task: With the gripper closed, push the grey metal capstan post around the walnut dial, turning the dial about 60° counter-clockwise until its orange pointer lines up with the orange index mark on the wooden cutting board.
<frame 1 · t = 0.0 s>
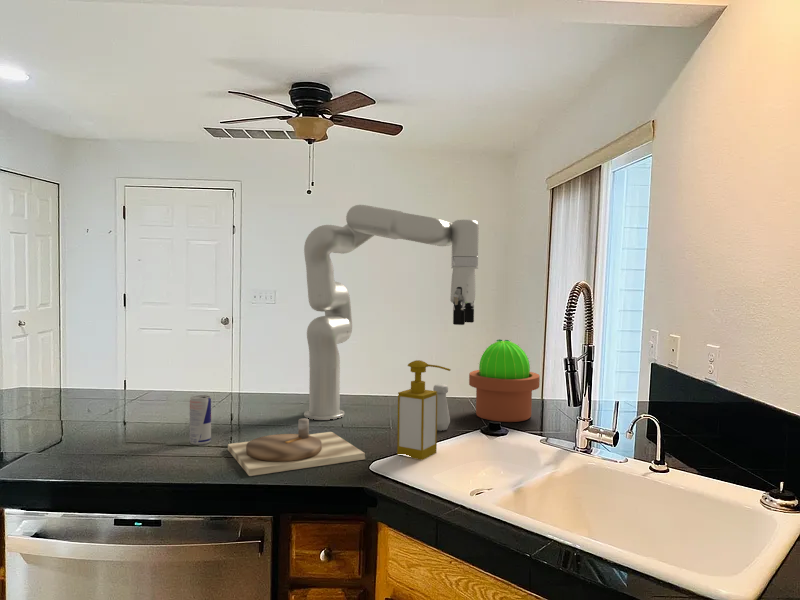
hand: (463, 323, 171), 31 cm above the table, tool pointing down, fingers open, 9 cm apart
soap bottle: (426, 456, 148), on the table
energy drink: (200, 443, 157), on the table
salt shaker: (440, 429, 175), on the table
dial: (284, 437, 145), point 5 cm above the table, hinge at -60.0°
wooden cutting board: (294, 454, 148), on the table
potted cactus: (503, 416, 192), on the table
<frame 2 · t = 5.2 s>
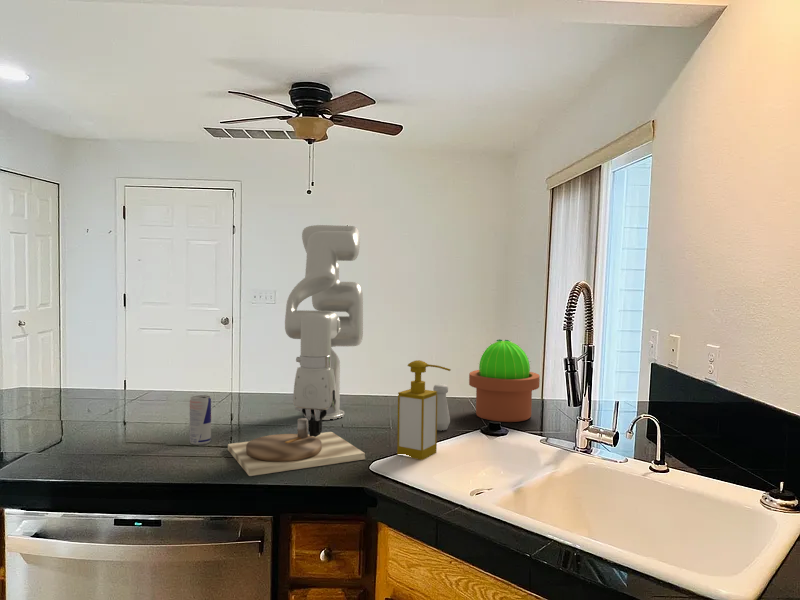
hand: (315, 435, 150), 4 cm above the table, tool pointing down, fingers closed
dial: (284, 437, 145), point 5 cm above the table, hinge at -57.7°, touching gripper
everything else where it was.
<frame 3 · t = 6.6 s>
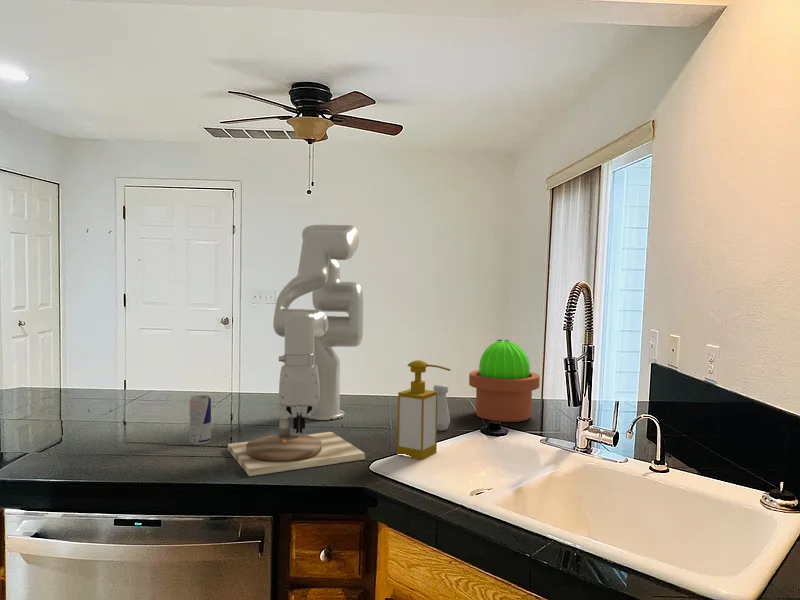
hand: (299, 431, 153), 4 cm above the table, tool pointing down, fingers closed
dial: (284, 437, 145), point 5 cm above the table, hinge at -17.4°, touching gripper
everything else where it was.
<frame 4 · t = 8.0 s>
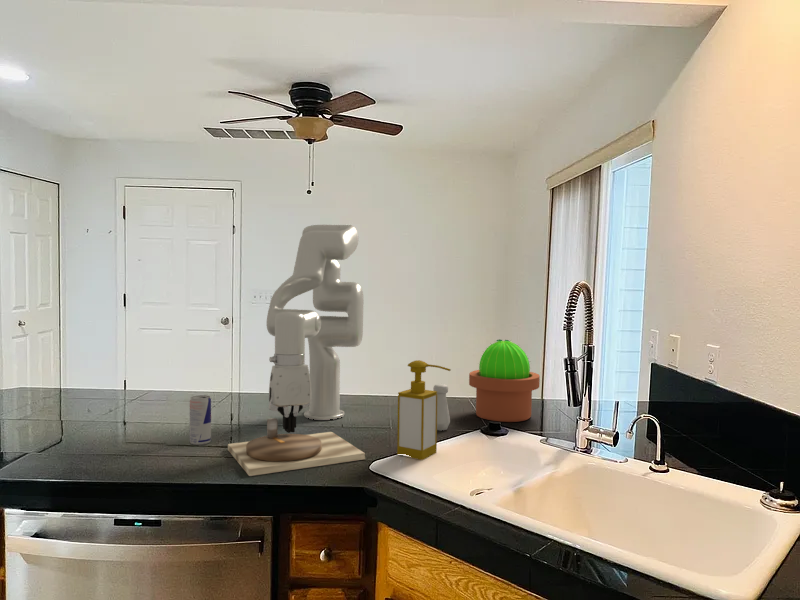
hand: (289, 431, 153), 4 cm above the table, tool pointing down, fingers closed
dial: (284, 437, 145), point 5 cm above the table, hinge at 8.4°
everything else where it was.
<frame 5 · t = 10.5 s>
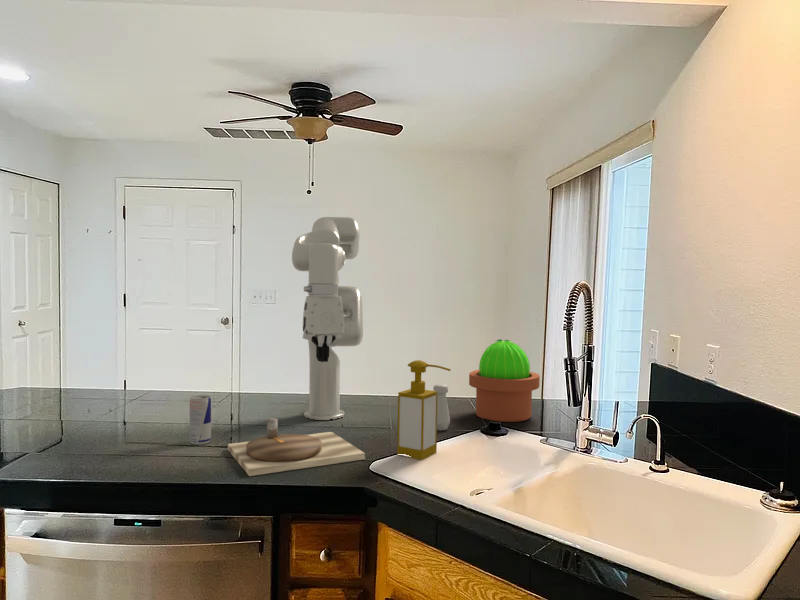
hand: (322, 361, 156), 22 cm above the table, tool pointing down, fingers closed
nothing on the table moved.
at the end: dial at +8° (first picture: -60°); soap bottle moved 0.2 cm from its start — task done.
